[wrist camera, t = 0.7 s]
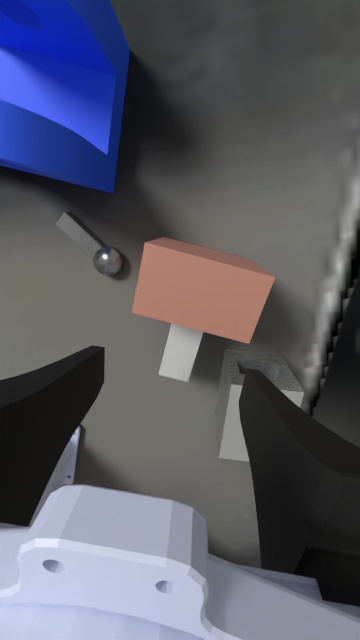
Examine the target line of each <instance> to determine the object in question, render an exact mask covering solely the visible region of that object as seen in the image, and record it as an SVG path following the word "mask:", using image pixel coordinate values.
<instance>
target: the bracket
mask: <svg viewBox="0 0 360 640" xmlns="http://www.w3.org/2000/svg"><path fill="white" fill-rule="evenodd" d="M129 55H130V48H129V46H128V43H127V41H126V39H125V36H124V34H123V31H122V29H121V26H120V24H119V22H118V19H117V17H116V14H115V12H114V10H113V7H112V5H111V2H110V0H0V165H1V166H5V167H9V168H13V169H17V170H21V171H25V172H29V173H33V174H37V175H41V176H45V177H49V178H53V179H57V180H61V181H65V182H69V183H73V184H77V185H81V186H84V187H88V188H92V189H96V190H100V191H104V192H108V193H112V194H113V191H114V182H115V174H116V165H117V157H118V148H119V140H120V131H121V123H122V114H123V106H124V97H125V89H126V80H127V72H128V63H129Z"/></svg>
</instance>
